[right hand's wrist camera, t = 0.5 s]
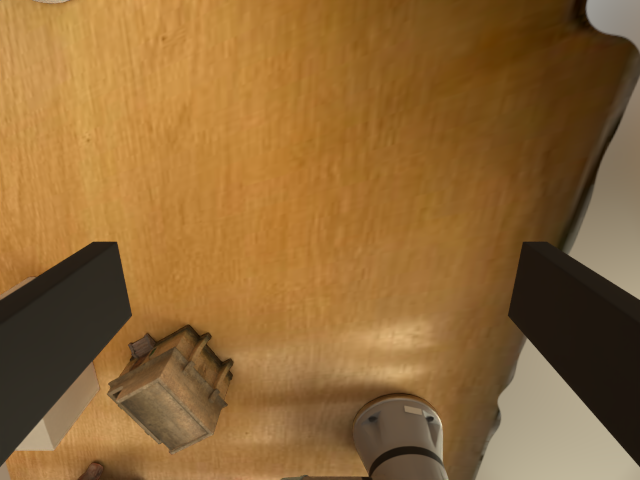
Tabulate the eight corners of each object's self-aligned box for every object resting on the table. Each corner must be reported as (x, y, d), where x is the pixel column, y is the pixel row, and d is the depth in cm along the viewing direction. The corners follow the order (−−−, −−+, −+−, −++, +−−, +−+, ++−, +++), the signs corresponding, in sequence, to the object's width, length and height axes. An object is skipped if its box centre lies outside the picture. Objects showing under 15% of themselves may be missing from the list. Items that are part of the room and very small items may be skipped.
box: (100, 388, 63) (53, 450, 52) (64, 388, 63) (10, 450, 52) (70, 276, 55) (8, 321, 44) (28, 276, 55) (-43, 321, 44)
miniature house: (188, 309, 57) (158, 359, 46) (242, 373, 61) (226, 431, 51) (114, 351, 60) (69, 407, 49) (171, 409, 64) (141, 472, 53)
